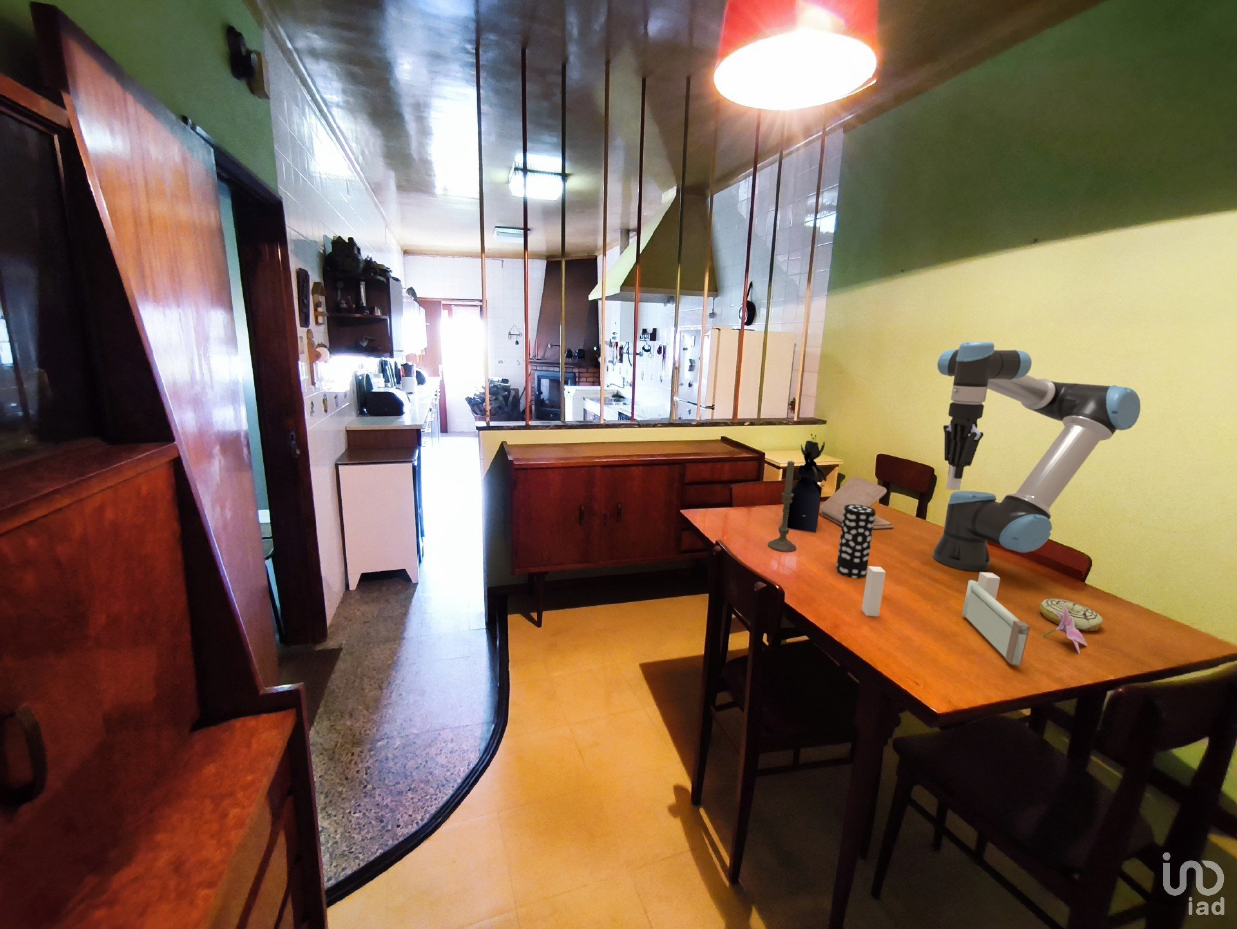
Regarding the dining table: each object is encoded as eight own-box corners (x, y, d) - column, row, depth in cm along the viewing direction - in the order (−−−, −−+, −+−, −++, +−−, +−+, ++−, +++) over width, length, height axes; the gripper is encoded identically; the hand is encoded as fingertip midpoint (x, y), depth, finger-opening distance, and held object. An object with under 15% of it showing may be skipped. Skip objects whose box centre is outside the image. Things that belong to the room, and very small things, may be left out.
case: (816, 514, 209) (820, 476, 206) (862, 512, 213) (867, 475, 210) (846, 531, 190) (852, 489, 186) (896, 529, 194) (903, 488, 190)
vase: (819, 536, 183) (831, 439, 176) (785, 530, 188) (795, 436, 180) (821, 524, 196) (832, 434, 188) (789, 519, 201) (799, 431, 193)
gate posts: (983, 616, 130) (992, 572, 127) (990, 623, 127) (1000, 578, 124) (861, 609, 131) (868, 566, 129) (866, 615, 128) (873, 571, 126)
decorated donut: (1091, 639, 121) (1095, 623, 120) (1031, 617, 131) (1035, 603, 130) (1105, 625, 128) (1109, 610, 127) (1047, 606, 137) (1050, 591, 136)
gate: (960, 612, 129) (967, 579, 127) (969, 613, 129) (975, 580, 127) (1010, 664, 108) (1019, 625, 106) (1021, 665, 108) (1029, 626, 106)
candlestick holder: (781, 553, 166) (791, 463, 160) (762, 544, 174) (770, 457, 168) (802, 549, 170) (812, 461, 164) (782, 540, 178) (791, 455, 172)
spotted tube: (869, 579, 149) (879, 514, 145) (839, 576, 151) (848, 511, 146) (862, 568, 157) (871, 505, 153) (833, 565, 159) (841, 503, 154)
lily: (1053, 659, 114) (1088, 634, 110) (1016, 618, 123) (1046, 595, 118) (1081, 664, 118) (1115, 641, 114) (1043, 625, 127) (1073, 602, 123)
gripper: (937, 399, 141) (925, 482, 146) (969, 405, 128) (954, 495, 134) (965, 400, 141) (951, 482, 146) (999, 405, 128) (983, 496, 134)
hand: (952, 489), depth 140 cm, fingers closed
